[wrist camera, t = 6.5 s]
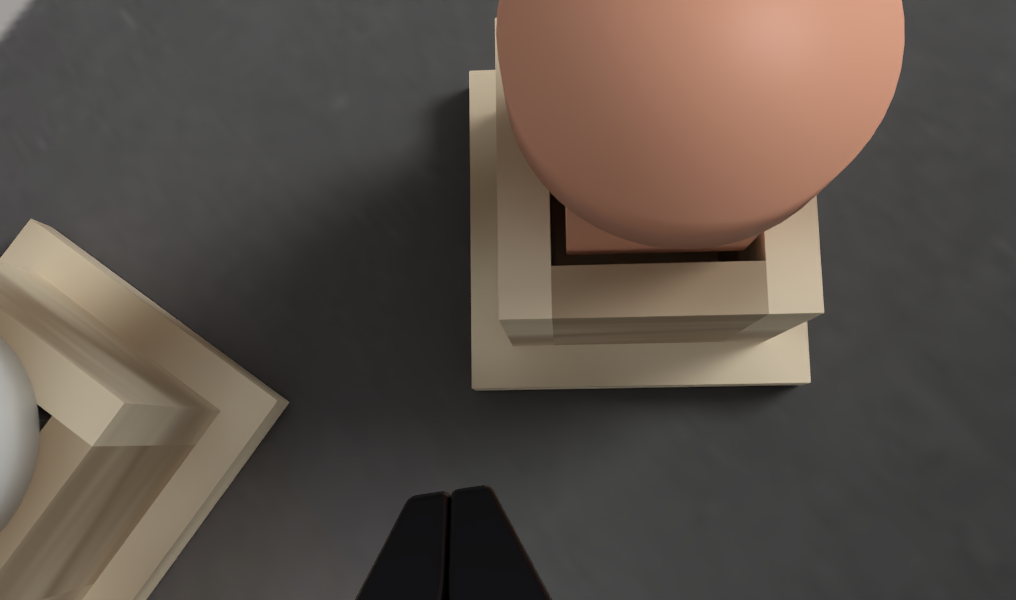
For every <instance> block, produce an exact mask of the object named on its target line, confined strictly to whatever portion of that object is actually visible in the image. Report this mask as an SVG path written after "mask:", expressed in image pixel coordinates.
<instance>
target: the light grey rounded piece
mask: <svg viewBox="0 0 1016 600" xmlns="http://www.w3.org/2000/svg"><path fill="white" fill-rule="evenodd" d="M51 417H52V415H51V414H49V413H48V412H47V411H45V410H44V409H43V408H42V407H40V406H39V405H38V404H37V401H36V397H35V394H34V390H33V387H32V384H31V381H30V379H29V377H28V375H27V372H26V370H25V368H24V366H23V365H22V363H21V362H20V360H19V358H18V357H17V355H16V354H15V352H14V351H13V350H12V349H11V348H10V347H9V345H8V344H7V343H6V342H5V341H4V340H3V339H2V338H1V337H0V532H1V531H2V530H3V529H4V527H5V526H6V525H7V524H8V523H9V521H10V520H11V518H12V517H13V515H14V514H15V512H16V511H17V509H18V508H19V506H20V504H21V502H22V500H23V498H24V496H25V494H26V492H27V490H28V487H29V484H30V481H31V478H32V476H33V473H34V469H35V464H36V460H37V455H38V447H39V437H40V431H41V430H42V429H43V427H44V426H45V425H46V423H47V422H48V421H49V419H50V418H51Z"/></svg>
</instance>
